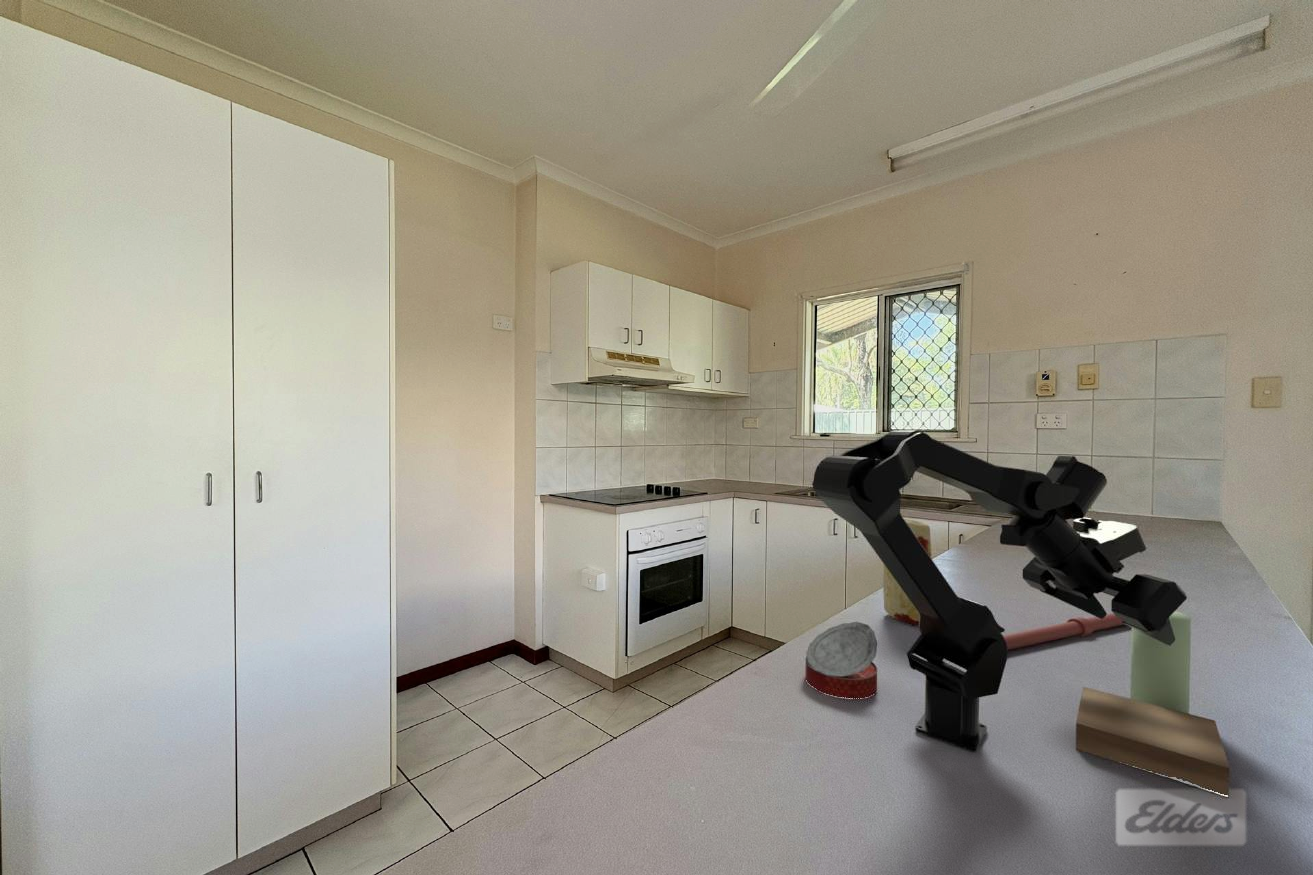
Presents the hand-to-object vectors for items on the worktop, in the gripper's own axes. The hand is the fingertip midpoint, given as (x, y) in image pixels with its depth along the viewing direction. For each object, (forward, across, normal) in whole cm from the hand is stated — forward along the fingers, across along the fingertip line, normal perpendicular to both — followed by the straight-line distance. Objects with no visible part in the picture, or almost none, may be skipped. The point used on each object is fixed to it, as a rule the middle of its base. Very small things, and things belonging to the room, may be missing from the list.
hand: (1135, 628), depth 69 cm
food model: (-1, +34, +17) cm, 37 cm away
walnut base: (+3, -8, +12) cm, 15 cm away
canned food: (-18, +9, +33) cm, 39 cm away
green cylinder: (+10, 0, +5) cm, 11 cm away
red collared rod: (+16, +24, 0) cm, 29 cm away
